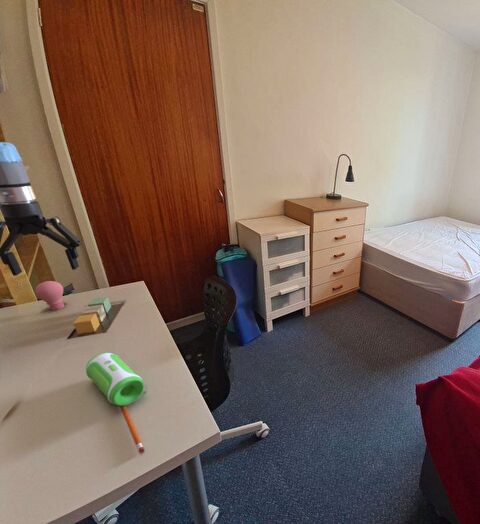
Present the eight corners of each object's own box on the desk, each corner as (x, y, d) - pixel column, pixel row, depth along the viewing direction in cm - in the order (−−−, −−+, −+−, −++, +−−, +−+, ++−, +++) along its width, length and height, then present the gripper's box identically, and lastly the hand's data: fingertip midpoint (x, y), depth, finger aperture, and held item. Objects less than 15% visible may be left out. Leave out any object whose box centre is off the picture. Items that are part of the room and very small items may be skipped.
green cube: (91, 315, 102) (87, 304, 101) (96, 309, 106) (92, 298, 104) (107, 313, 104) (103, 302, 102) (111, 306, 108) (107, 296, 106)
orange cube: (83, 326, 96) (79, 315, 94) (100, 324, 98) (95, 313, 96) (77, 334, 92) (73, 323, 90) (95, 331, 94) (90, 320, 92)
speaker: (87, 382, 75) (79, 359, 73) (120, 367, 81) (113, 345, 79) (115, 414, 67) (106, 390, 64) (149, 394, 72) (142, 371, 70)
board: (61, 342, 90) (59, 340, 89) (87, 310, 107) (86, 308, 106) (107, 334, 94) (106, 332, 94) (125, 305, 111) (124, 303, 111)
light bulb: (43, 310, 106) (30, 282, 101) (69, 303, 111) (58, 276, 106) (45, 317, 102) (32, 288, 97) (72, 309, 107) (60, 281, 102)
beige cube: (90, 317, 101) (86, 306, 99) (106, 315, 103) (102, 304, 101) (85, 324, 97) (81, 313, 95) (101, 321, 99) (97, 311, 97)
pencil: (139, 453, 59) (138, 451, 59) (117, 402, 70) (116, 399, 70) (144, 450, 59) (143, 448, 59) (122, 399, 71) (121, 397, 70)
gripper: (-59, 206, 70) (-18, 281, 79) (69, 202, 79) (93, 270, 88) (-35, 201, 77) (0, 271, 85) (80, 197, 86) (102, 261, 94)
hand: (47, 270), depth 86 cm, fingers open, 13 cm apart
